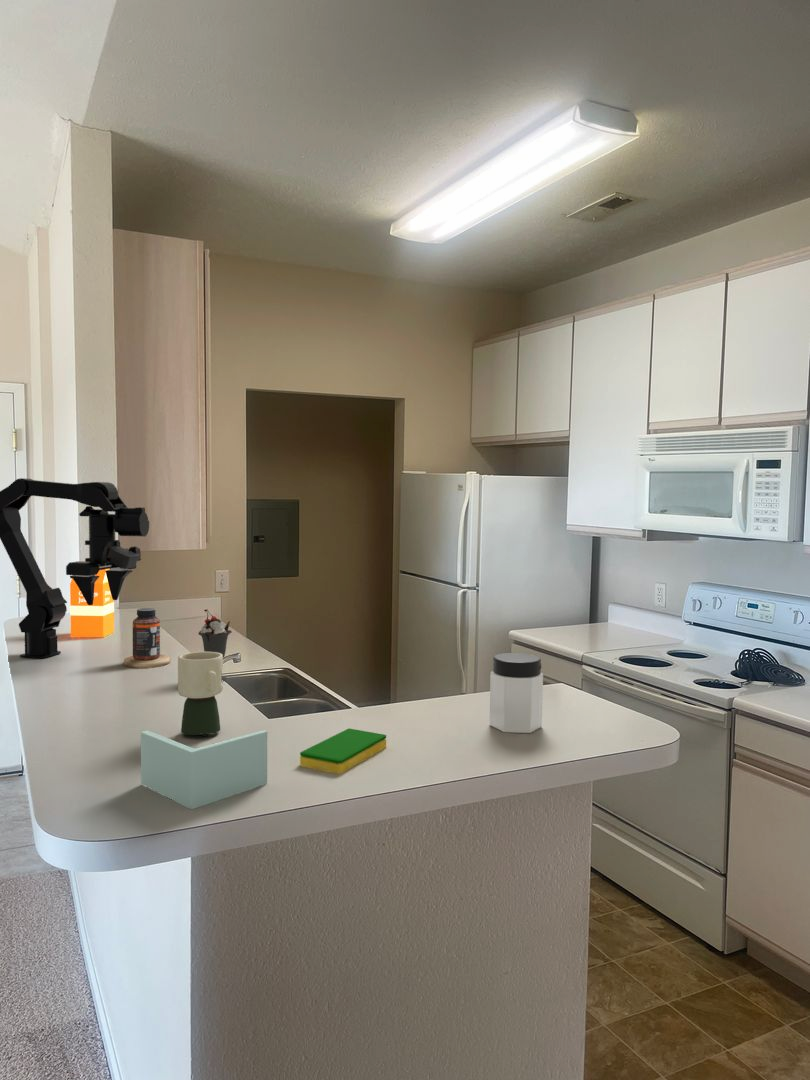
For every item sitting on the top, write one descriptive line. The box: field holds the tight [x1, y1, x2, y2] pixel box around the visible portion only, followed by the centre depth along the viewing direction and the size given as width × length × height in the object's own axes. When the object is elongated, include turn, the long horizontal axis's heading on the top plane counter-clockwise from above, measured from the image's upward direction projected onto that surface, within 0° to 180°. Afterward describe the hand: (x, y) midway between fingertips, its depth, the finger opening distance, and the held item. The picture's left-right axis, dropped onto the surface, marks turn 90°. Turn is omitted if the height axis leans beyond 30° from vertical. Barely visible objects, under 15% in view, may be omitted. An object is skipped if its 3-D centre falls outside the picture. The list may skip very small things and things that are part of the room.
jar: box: [489, 652, 544, 734], centre depth 136 cm, size 9×8×12 cm
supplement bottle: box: [132, 607, 161, 660], centre depth 181 cm, size 6×6×11 cm
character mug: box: [177, 651, 224, 736], centre depth 130 cm, size 11×7×13 cm, turn 38°
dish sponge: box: [299, 728, 387, 775], centre depth 120 cm, size 7×14×2 cm, turn 152°
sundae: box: [197, 608, 233, 682], centre depth 167 cm, size 7×7×15 cm
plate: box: [123, 653, 171, 669], centre depth 181 cm, size 10×10×1 cm
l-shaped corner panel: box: [140, 729, 268, 810], centre depth 108 cm, size 12×12×8 cm
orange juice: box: [69, 560, 115, 638], centre depth 214 cm, size 8×9×20 cm
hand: (103, 602), depth 186 cm, fingers open, 9 cm apart
